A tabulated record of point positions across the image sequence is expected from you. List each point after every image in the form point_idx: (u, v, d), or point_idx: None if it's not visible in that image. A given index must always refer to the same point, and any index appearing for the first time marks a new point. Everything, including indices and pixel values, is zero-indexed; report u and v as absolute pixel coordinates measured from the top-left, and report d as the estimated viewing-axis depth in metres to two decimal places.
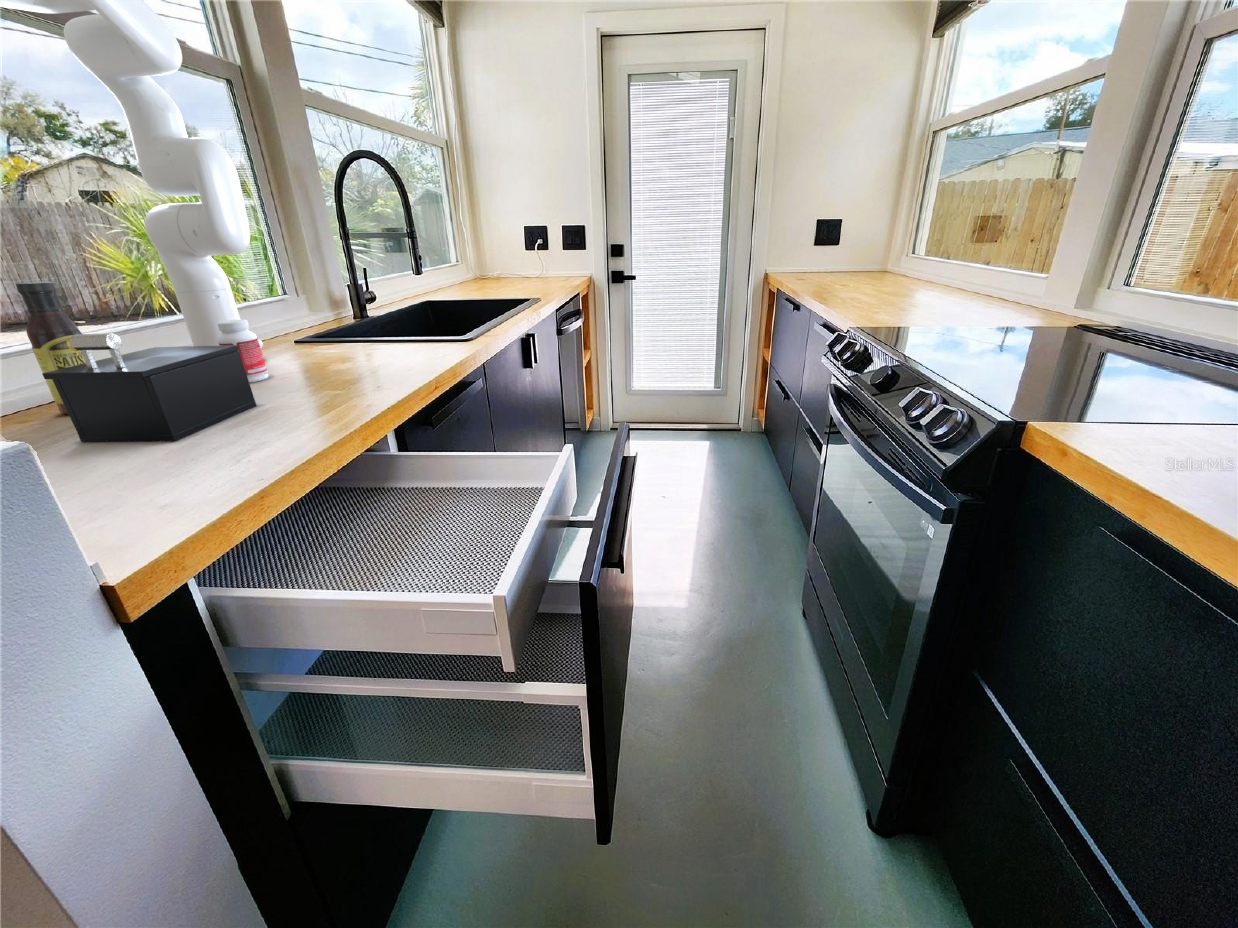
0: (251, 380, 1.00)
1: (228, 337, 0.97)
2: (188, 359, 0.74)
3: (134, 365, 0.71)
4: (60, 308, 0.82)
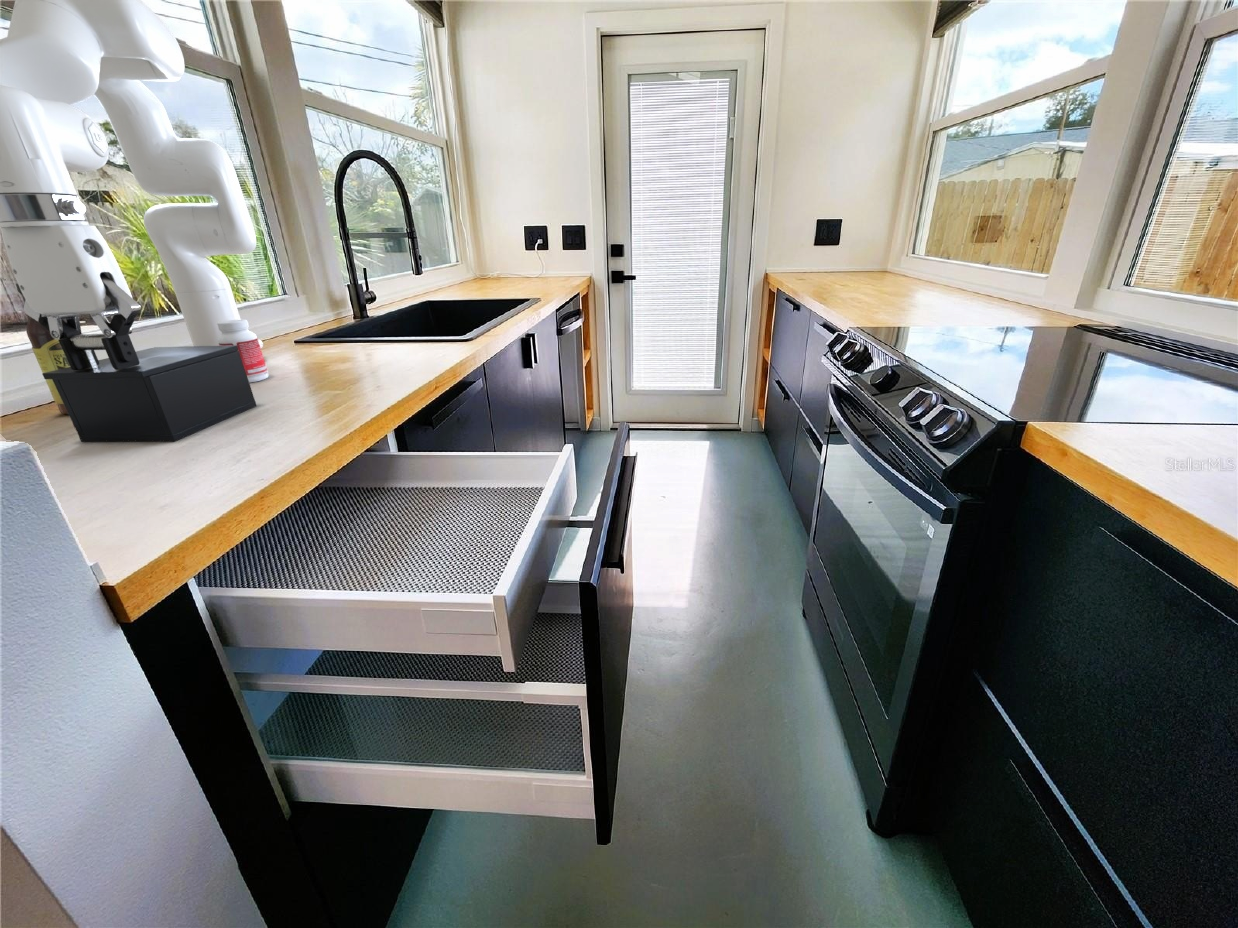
0: (251, 380, 1.00)
1: (228, 337, 0.97)
2: (188, 359, 0.74)
3: None
4: None
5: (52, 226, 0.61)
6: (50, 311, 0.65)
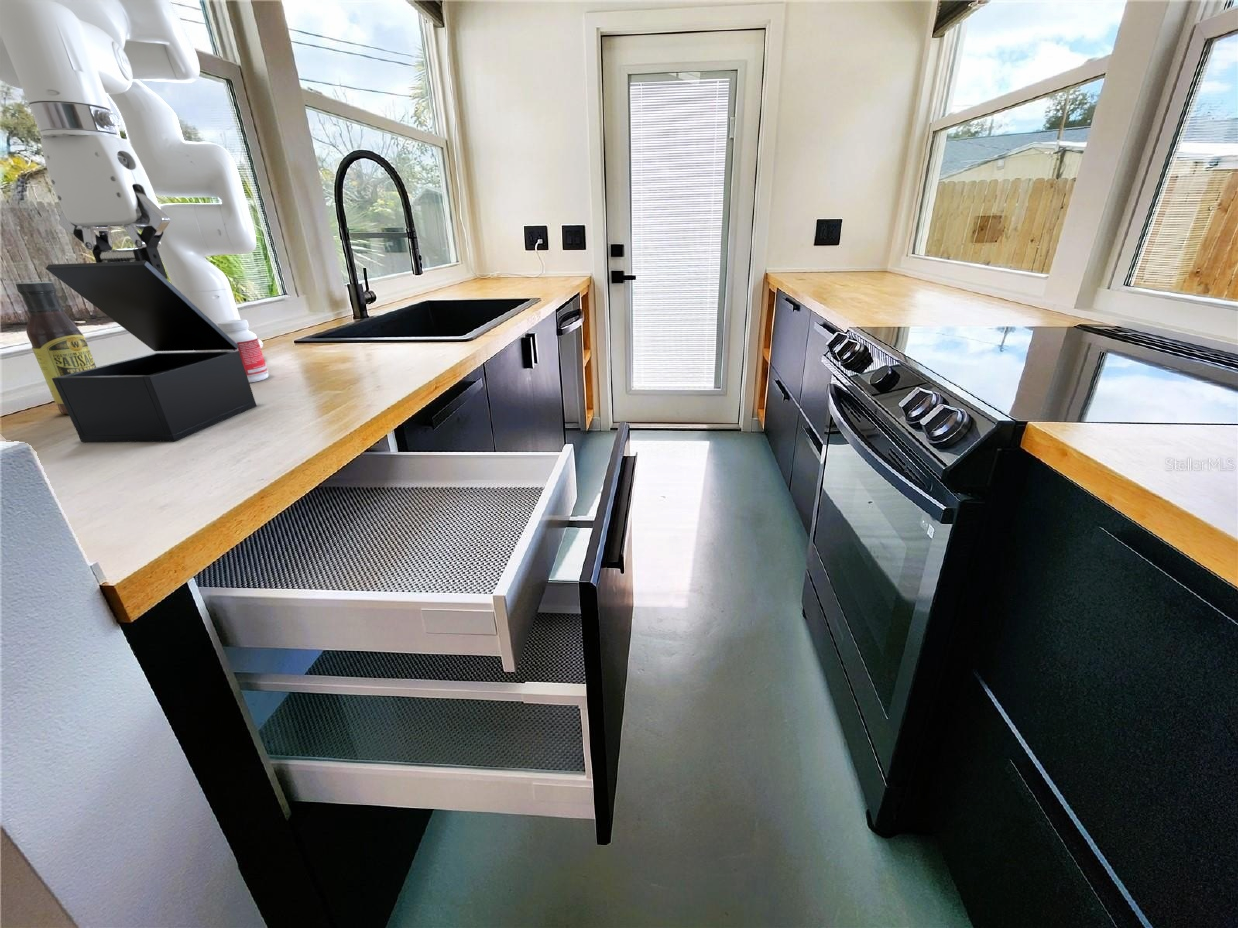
0: (251, 380, 1.00)
1: None
2: (191, 302, 0.74)
3: None
4: (60, 308, 0.82)
5: (89, 136, 0.65)
6: (85, 221, 0.69)
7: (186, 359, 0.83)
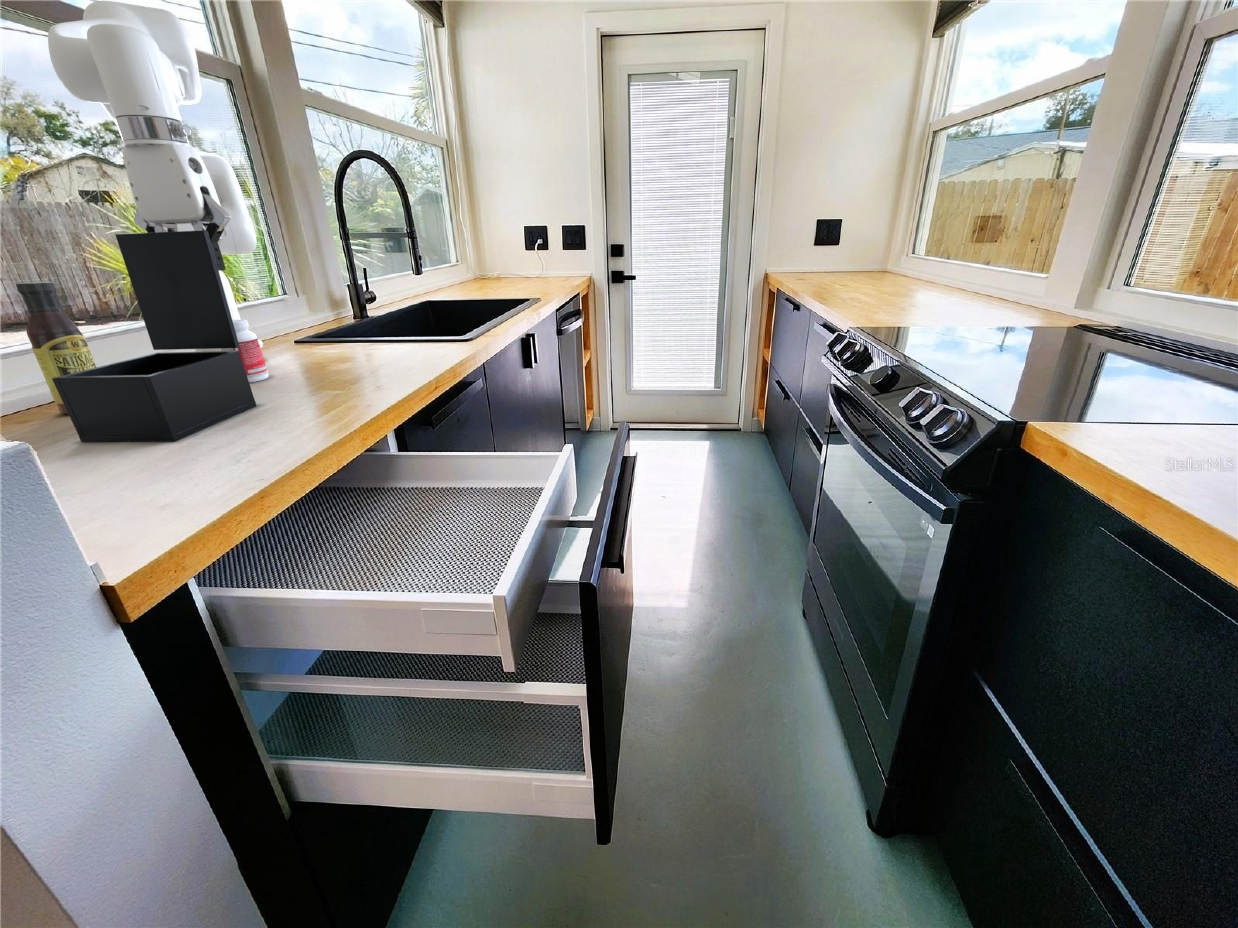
0: (251, 380, 1.00)
1: None
2: (221, 284, 0.79)
3: None
4: (60, 308, 0.82)
5: (165, 144, 0.75)
6: (158, 219, 0.79)
7: (186, 359, 0.83)
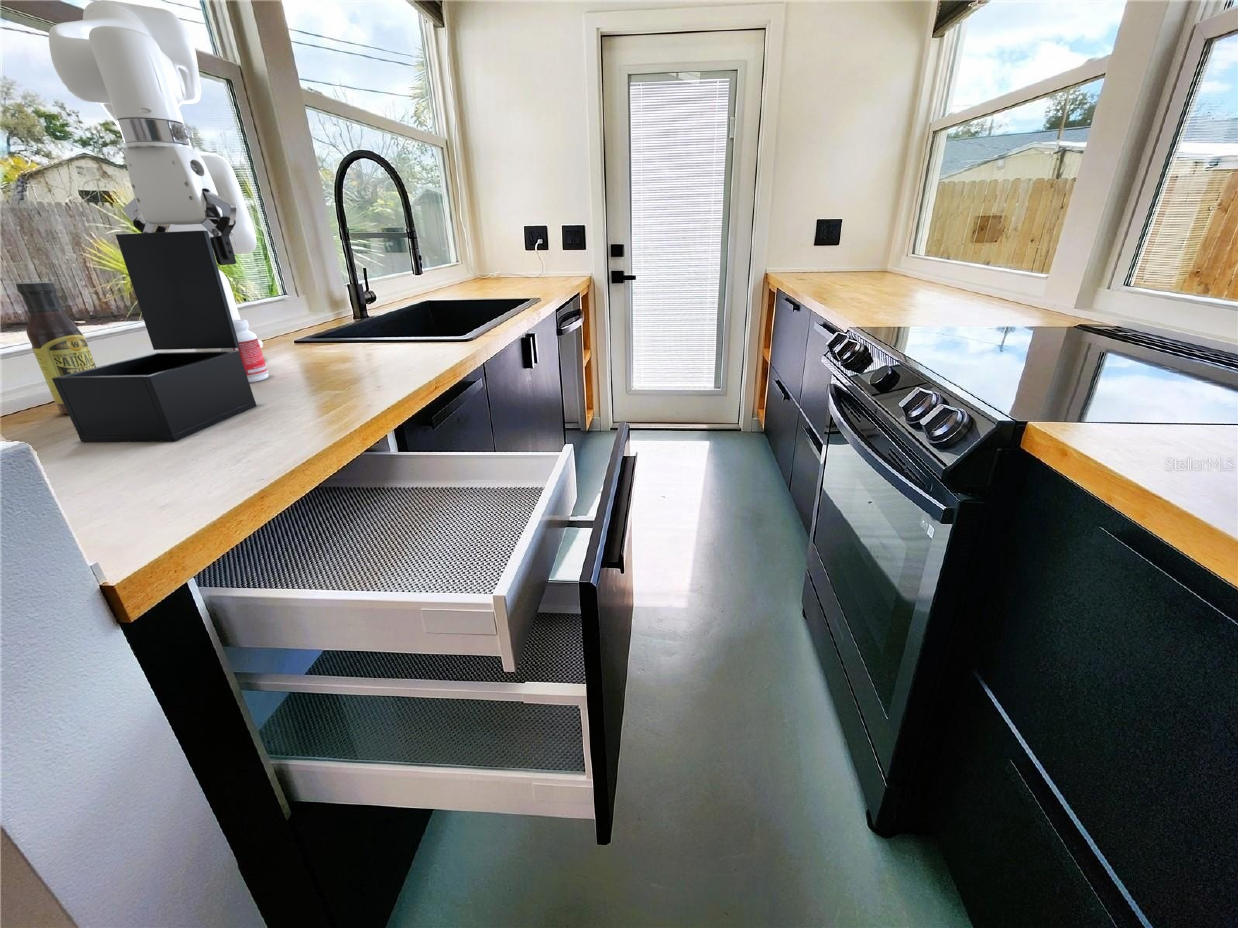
0: (251, 380, 1.00)
1: None
2: (222, 284, 0.79)
3: None
4: (60, 308, 0.82)
5: (168, 147, 0.75)
6: (160, 221, 0.79)
7: (186, 359, 0.83)
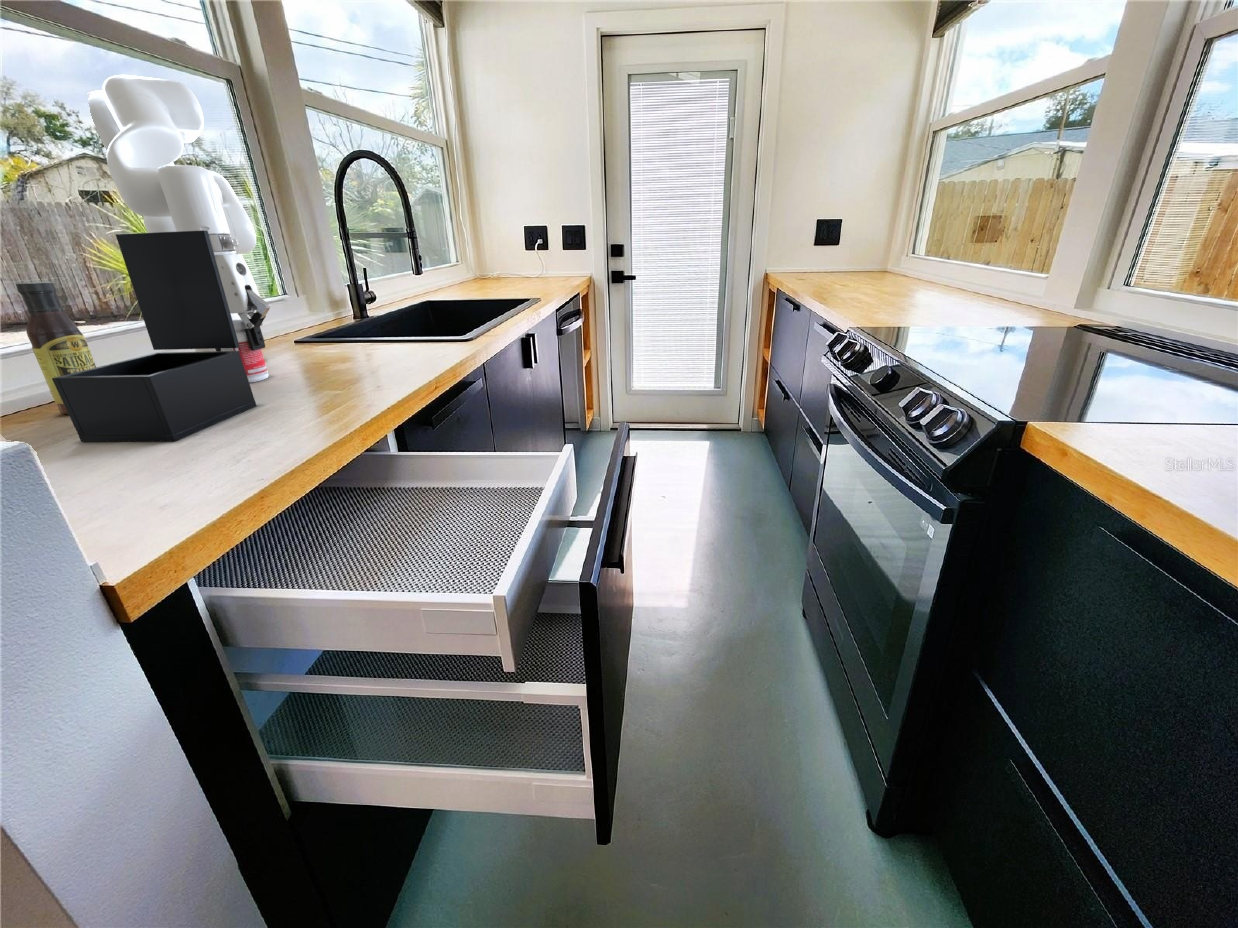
0: (251, 380, 1.00)
1: None
2: (222, 284, 0.79)
3: None
4: (60, 308, 0.82)
5: (218, 255, 0.92)
6: None
7: (186, 359, 0.83)
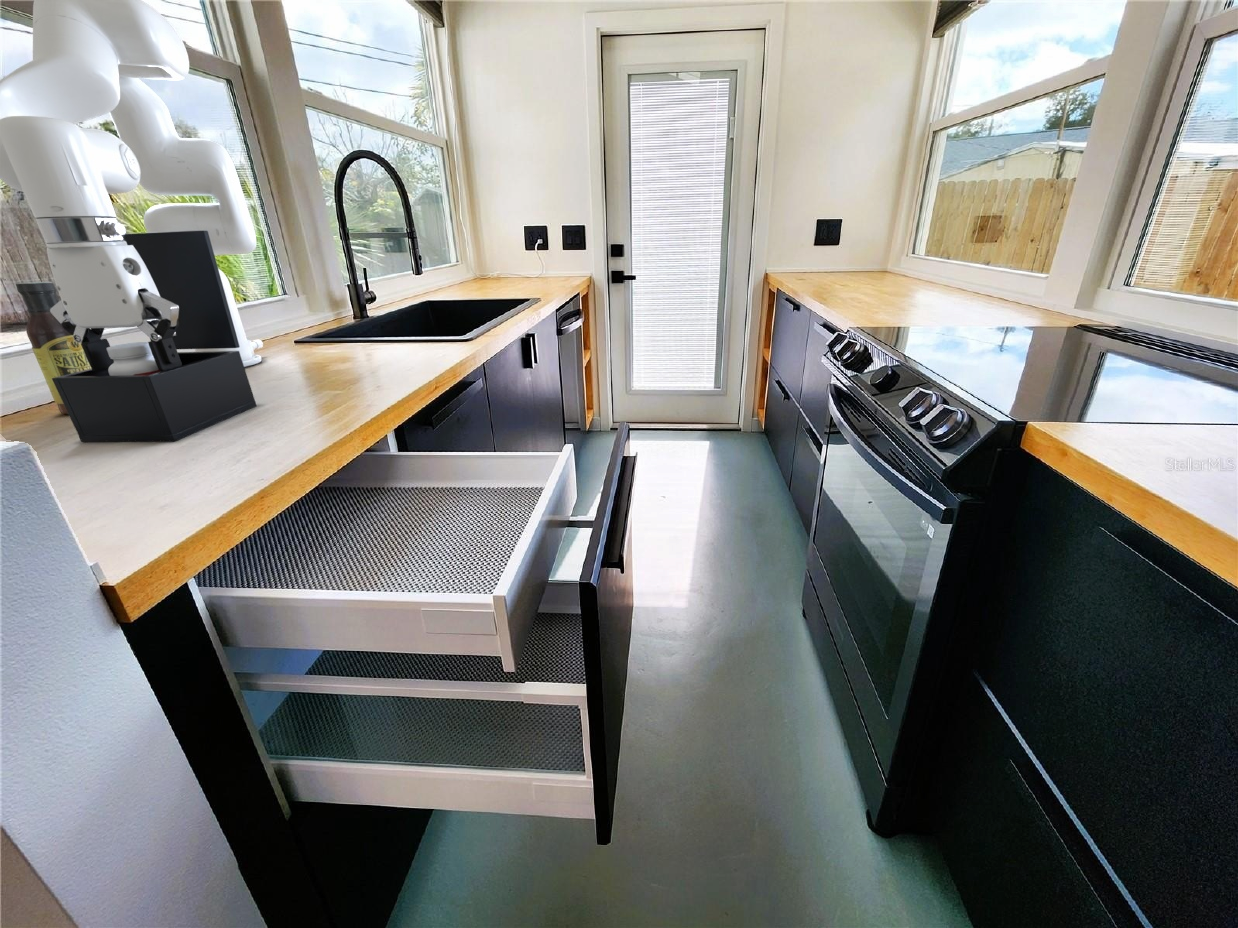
0: None
1: (121, 367, 0.71)
2: (222, 284, 0.79)
3: None
4: None
5: (95, 247, 0.65)
6: (91, 325, 0.70)
7: (186, 359, 0.83)
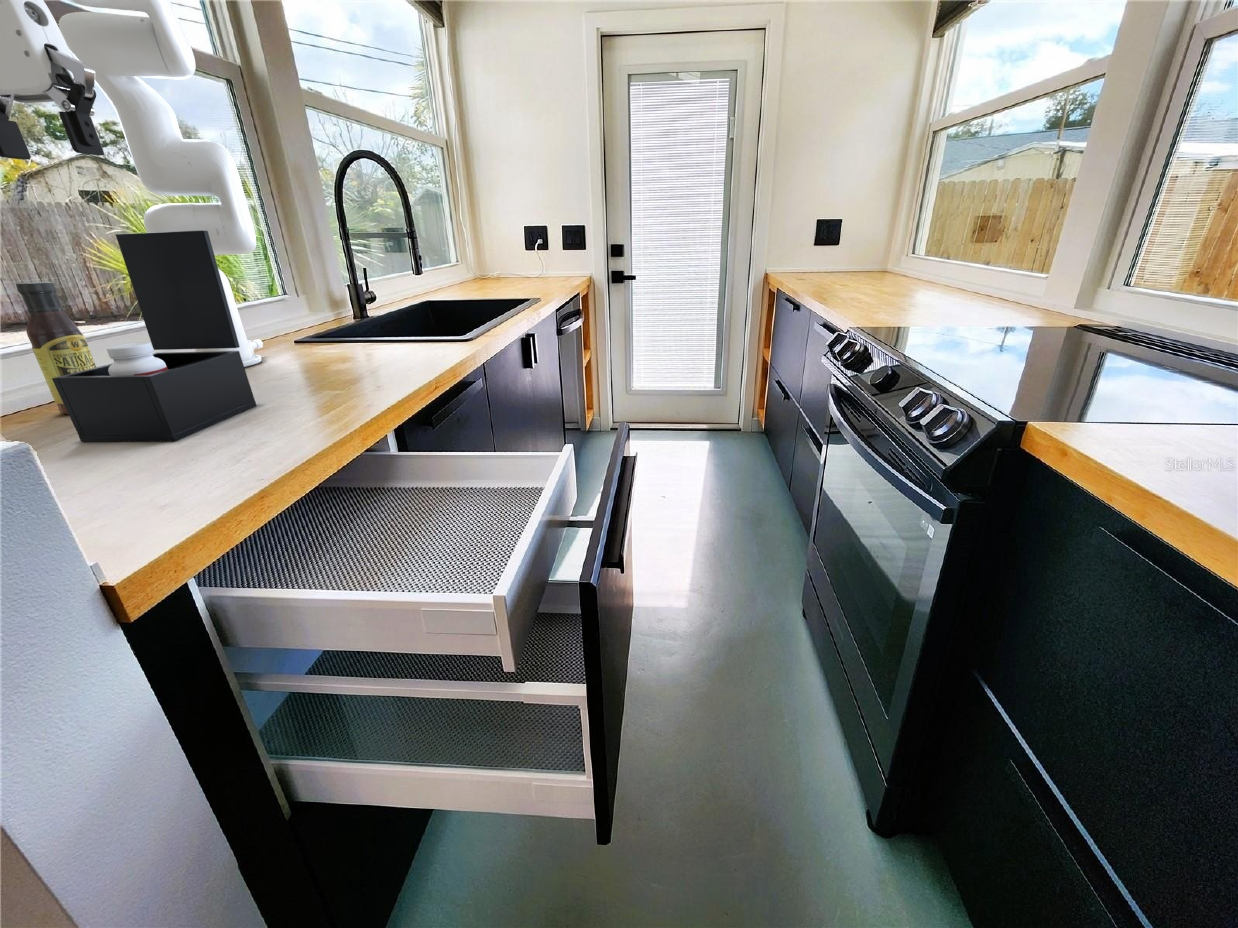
0: None
1: (121, 367, 0.71)
2: (222, 284, 0.79)
3: None
4: (60, 308, 0.82)
5: None
6: None
7: (186, 359, 0.83)
